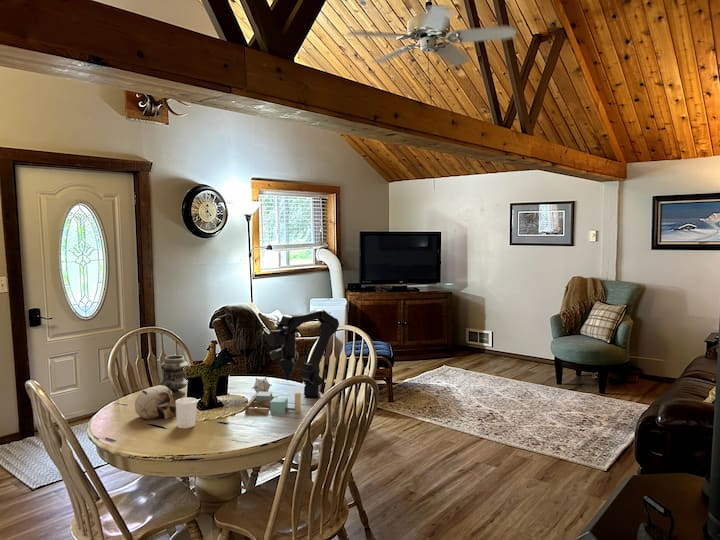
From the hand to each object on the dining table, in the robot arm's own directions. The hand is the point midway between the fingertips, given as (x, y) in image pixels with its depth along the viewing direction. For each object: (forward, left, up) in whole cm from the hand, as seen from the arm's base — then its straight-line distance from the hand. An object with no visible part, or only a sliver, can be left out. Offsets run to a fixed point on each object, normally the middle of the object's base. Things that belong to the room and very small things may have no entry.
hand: (289, 377), depth 231 cm
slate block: (+10, +4, -12) cm, 16 cm away
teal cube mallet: (-2, +12, -12) cm, 17 cm away
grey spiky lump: (+15, -10, -12) cm, 21 cm away
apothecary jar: (+55, -4, -12) cm, 56 cm away
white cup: (+34, +33, -12) cm, 49 cm away
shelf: (+10, +8, -12) cm, 17 cm away
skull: (+49, +23, -12) cm, 55 cm away
